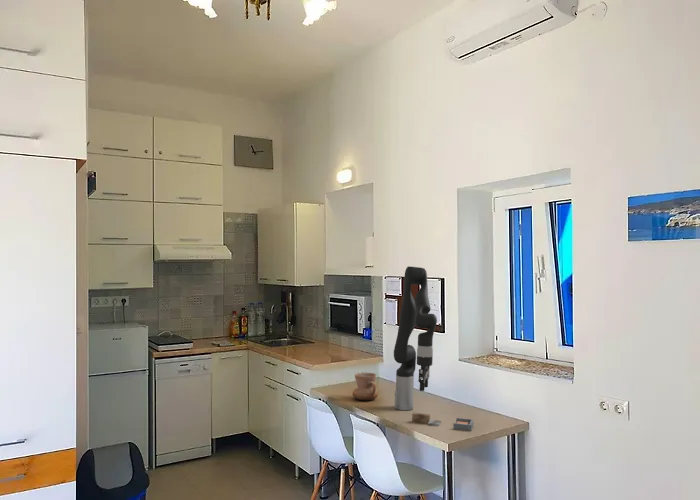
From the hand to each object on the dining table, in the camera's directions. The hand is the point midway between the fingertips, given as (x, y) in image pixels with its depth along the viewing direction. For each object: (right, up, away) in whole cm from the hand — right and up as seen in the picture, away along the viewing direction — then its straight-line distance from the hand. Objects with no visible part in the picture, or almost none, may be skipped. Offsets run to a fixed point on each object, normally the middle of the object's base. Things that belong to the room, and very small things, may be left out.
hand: (423, 389), depth 263 cm
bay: (+17, -16, -6) cm, 24 cm away
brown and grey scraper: (+1, -16, -1) cm, 16 cm away
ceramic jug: (-27, -18, +46) cm, 56 cm away
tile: (+17, -17, -6) cm, 25 cm away
